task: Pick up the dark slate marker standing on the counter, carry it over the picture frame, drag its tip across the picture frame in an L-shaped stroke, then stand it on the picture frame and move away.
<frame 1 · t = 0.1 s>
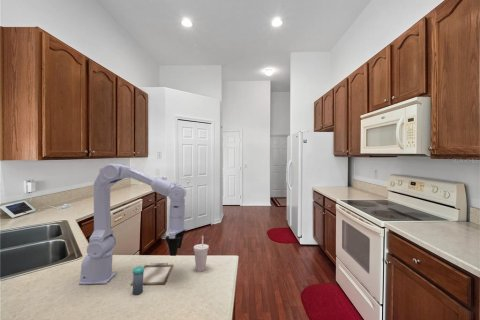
hand: (175, 251, 86), 10 cm above the countertop, tool pointing down, fingers open, 7 cm apart
marker: (137, 292, 75), on the countertop
picture frame: (154, 274, 88), on the countertop
smoothie: (200, 270, 93), on the countertop
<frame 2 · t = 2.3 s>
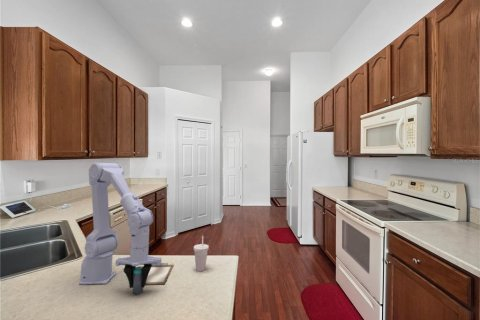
hand: (137, 286, 75), 2 cm above the countertop, tool pointing down, fingers closed on marker, 3 cm apart
marker: (137, 292, 75), on the countertop, touching gripper
everything else where it was.
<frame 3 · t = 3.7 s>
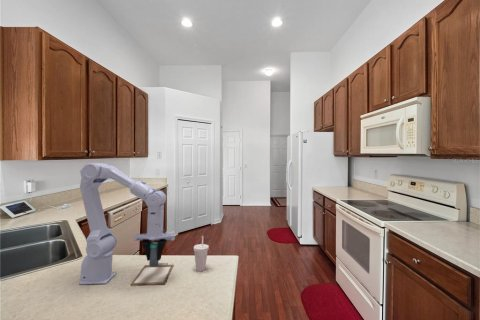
hand: (154, 259, 83), 8 cm above the countertop, tool pointing down, fingers closed on marker, 3 cm apart
marker: (153, 264, 83), point 6 cm above the countertop, touching gripper
everything else where it was.
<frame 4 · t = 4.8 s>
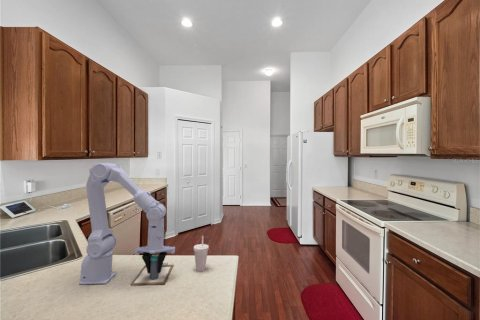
hand: (154, 272, 84), 3 cm above the countertop, tool pointing down, fingers closed on marker, 3 cm apart
marker: (154, 277, 84), point 1 cm above the countertop, touching gripper
everything else where it was.
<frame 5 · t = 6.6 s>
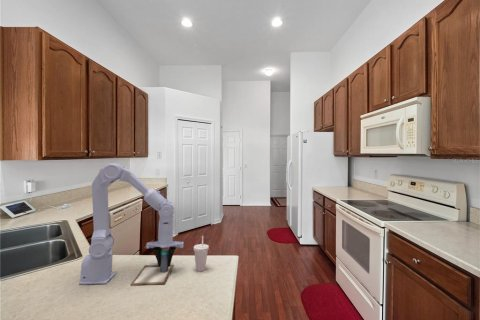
hand: (164, 265, 90), 3 cm above the countertop, tool pointing down, fingers closed on marker, 3 cm apart
marker: (164, 270, 90), point 1 cm above the countertop, touching gripper
everything else where it was.
when the fingers open (3 cm above the countertop, at t = 7.8 s): marker stays where it is, resting on picture frame.
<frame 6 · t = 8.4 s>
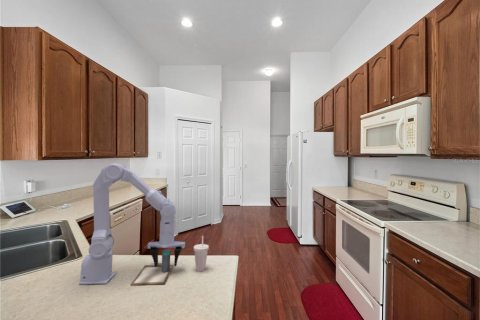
hand: (165, 265, 90), 3 cm above the countertop, tool pointing down, fingers open, 7 cm apart
marker: (165, 270, 90), resting on picture frame
everything else where it was.
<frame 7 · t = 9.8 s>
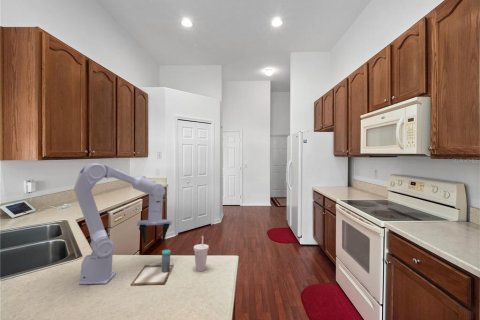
hand: (154, 241, 97), 10 cm above the countertop, tool pointing down, fingers open, 7 cm apart
nothing on the countertop moved.
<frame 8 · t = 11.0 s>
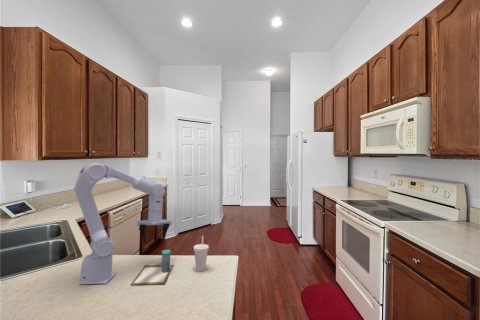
hand: (154, 241, 97), 10 cm above the countertop, tool pointing down, fingers open, 7 cm apart
nothing on the countertop moved.
at the end: marker inside the target area on the picture frame (4.5 cm from its centre), point 0.5 cm above the picture frame's base; marker moved 15.7 cm from its start; the gripper is holding nothing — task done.
